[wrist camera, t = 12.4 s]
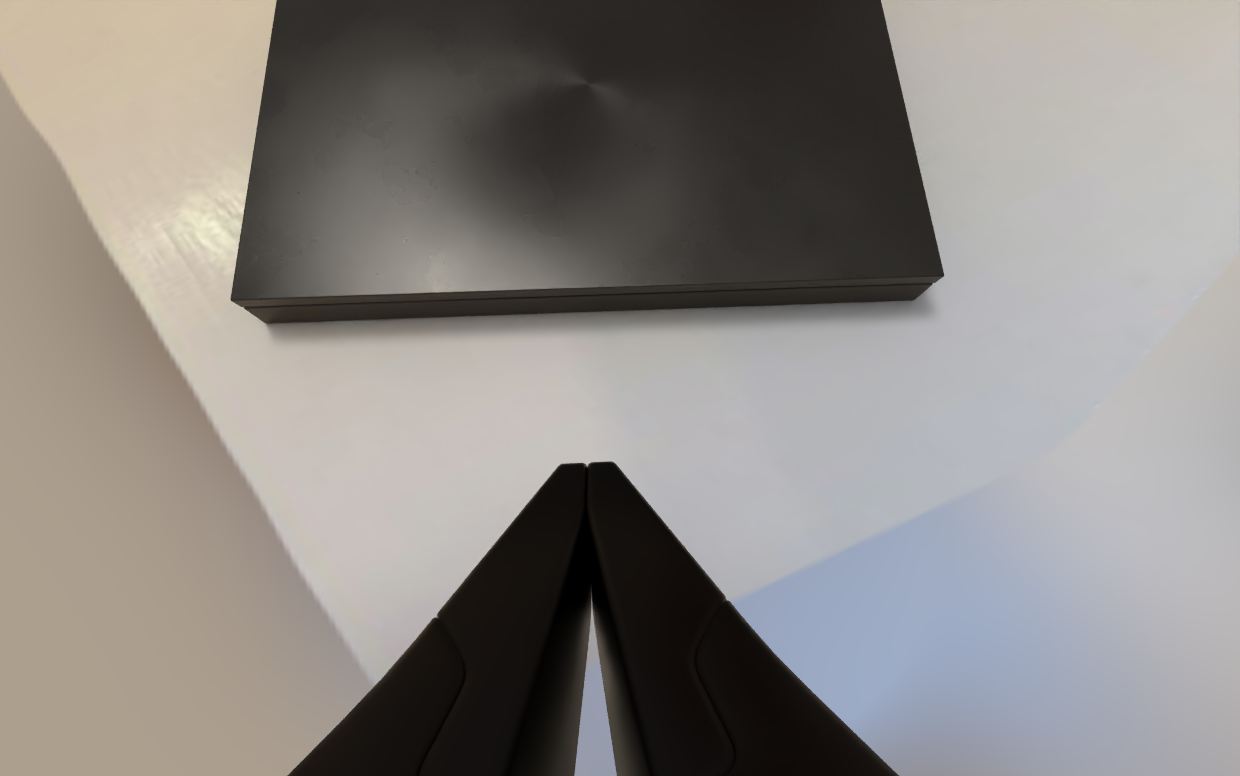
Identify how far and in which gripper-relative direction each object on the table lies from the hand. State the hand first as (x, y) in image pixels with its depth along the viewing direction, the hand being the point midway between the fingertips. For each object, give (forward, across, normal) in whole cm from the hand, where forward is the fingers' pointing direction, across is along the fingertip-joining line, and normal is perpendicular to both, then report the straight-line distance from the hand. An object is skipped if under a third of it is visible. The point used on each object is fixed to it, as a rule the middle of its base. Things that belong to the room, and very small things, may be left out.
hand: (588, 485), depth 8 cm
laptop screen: (+22, 0, -6) cm, 23 cm away
